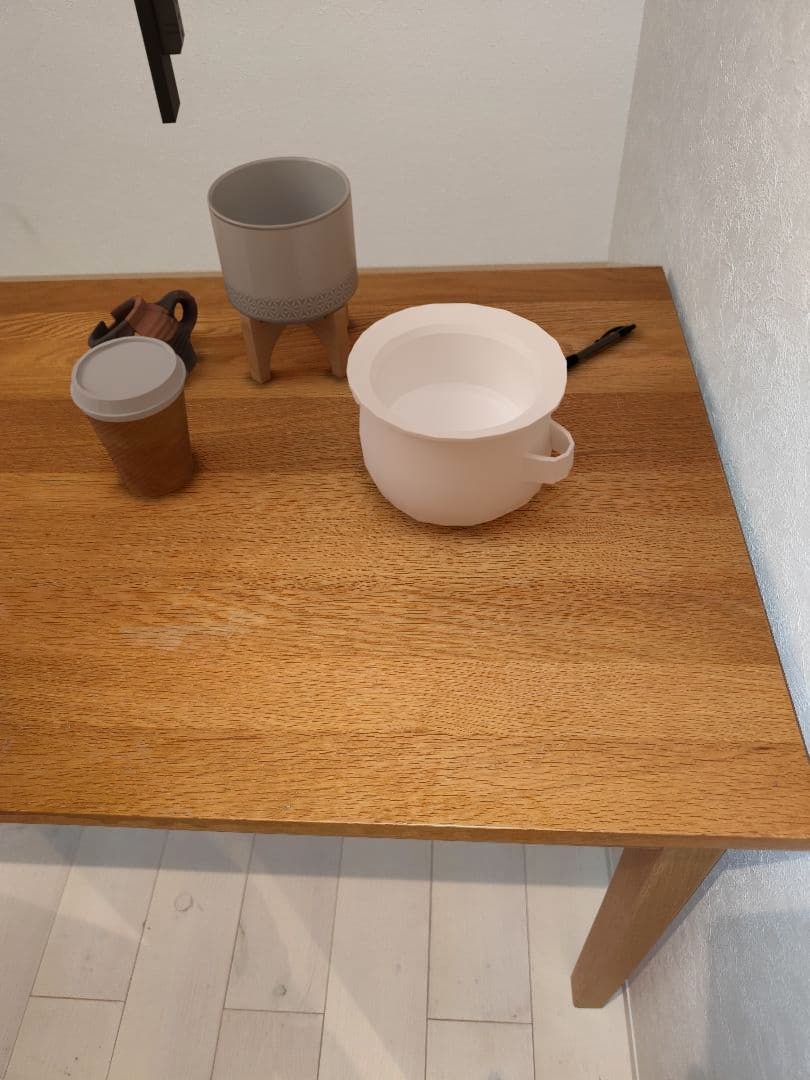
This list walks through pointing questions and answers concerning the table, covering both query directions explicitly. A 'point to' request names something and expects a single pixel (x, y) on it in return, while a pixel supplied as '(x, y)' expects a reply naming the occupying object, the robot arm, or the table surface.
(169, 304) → the pottery mug
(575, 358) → the pen
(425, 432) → the pot
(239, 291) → the planter
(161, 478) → the disposable coffee cup
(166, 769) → the table surface
